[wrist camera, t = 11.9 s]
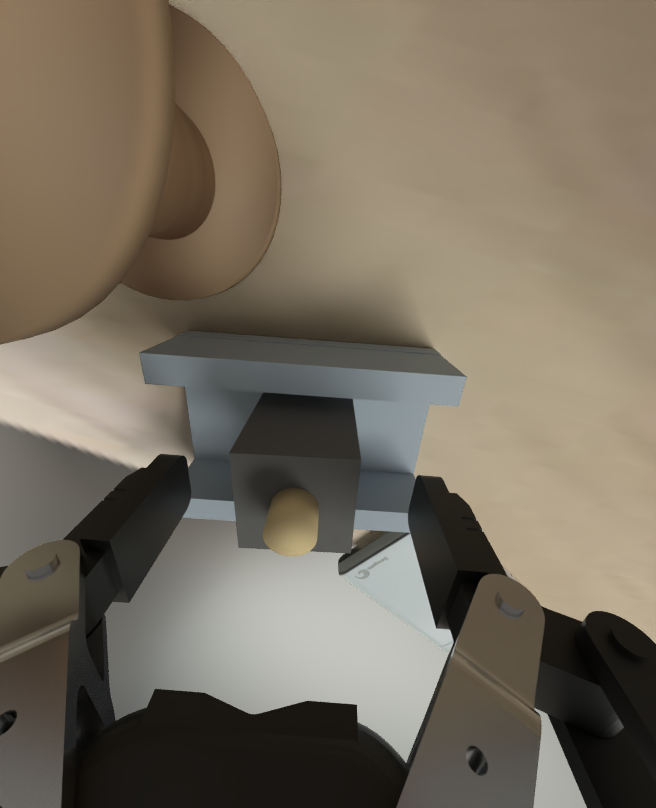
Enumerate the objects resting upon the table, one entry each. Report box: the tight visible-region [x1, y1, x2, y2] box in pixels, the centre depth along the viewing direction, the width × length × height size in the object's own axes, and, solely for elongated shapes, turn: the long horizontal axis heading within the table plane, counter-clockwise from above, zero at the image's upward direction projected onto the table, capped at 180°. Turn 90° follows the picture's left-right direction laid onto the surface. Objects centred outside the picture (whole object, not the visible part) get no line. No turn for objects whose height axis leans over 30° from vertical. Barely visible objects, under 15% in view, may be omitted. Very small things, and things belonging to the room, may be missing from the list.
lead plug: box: [229, 392, 361, 556], centre depth 12 cm, size 4×4×7 cm
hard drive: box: [338, 531, 515, 652], centre depth 21 cm, size 2×8×12 cm
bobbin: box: [0, 0, 281, 344], centre depth 8 cm, size 9×9×10 cm
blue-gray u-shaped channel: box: [139, 331, 467, 533], centre depth 15 cm, size 12×8×4 cm, turn 86°
